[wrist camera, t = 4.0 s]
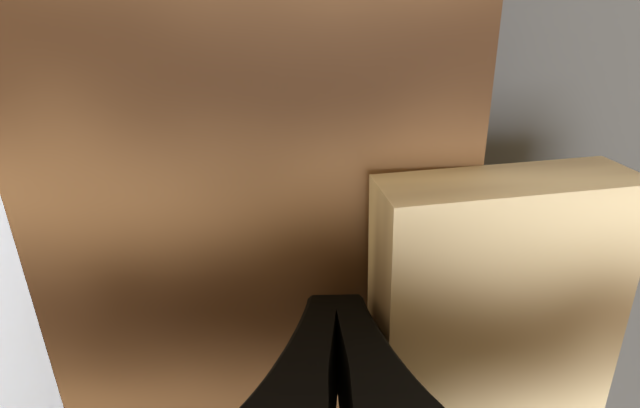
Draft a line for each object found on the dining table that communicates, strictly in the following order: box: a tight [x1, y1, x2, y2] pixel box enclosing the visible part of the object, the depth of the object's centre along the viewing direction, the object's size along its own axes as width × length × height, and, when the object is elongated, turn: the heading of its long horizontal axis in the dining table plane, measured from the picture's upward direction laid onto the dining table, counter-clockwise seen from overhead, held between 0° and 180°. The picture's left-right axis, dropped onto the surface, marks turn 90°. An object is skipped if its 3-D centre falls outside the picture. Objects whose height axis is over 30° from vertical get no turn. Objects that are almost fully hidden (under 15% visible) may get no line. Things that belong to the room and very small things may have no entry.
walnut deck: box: [0, 0, 503, 408], centre depth 16 cm, size 18×12×4 cm, turn 1°
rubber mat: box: [484, 0, 640, 408], centre depth 17 cm, size 18×10×1 cm, turn 1°
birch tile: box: [368, 156, 640, 408], centre depth 13 cm, size 8×6×2 cm
